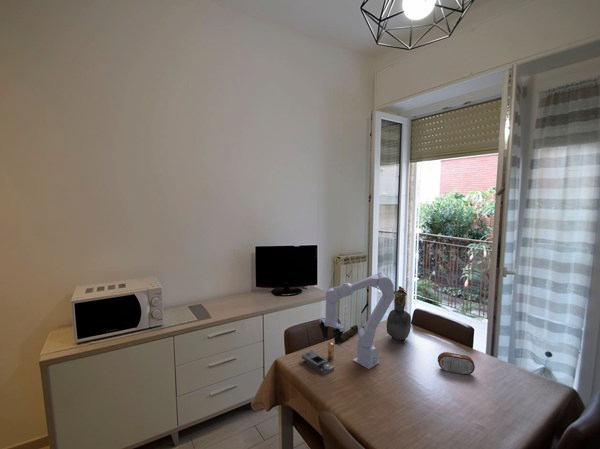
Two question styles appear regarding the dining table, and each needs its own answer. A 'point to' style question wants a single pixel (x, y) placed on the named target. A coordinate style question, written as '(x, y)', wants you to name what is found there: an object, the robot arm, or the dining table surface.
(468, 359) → the tin
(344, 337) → the hand tool
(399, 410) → the dining table surface
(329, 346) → the copper pin
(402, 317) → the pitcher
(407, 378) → the dining table surface
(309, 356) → the grey plate with knobs
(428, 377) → the dining table surface
